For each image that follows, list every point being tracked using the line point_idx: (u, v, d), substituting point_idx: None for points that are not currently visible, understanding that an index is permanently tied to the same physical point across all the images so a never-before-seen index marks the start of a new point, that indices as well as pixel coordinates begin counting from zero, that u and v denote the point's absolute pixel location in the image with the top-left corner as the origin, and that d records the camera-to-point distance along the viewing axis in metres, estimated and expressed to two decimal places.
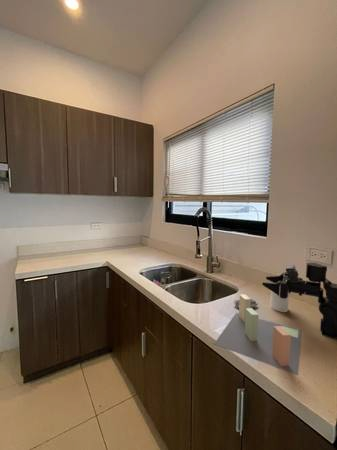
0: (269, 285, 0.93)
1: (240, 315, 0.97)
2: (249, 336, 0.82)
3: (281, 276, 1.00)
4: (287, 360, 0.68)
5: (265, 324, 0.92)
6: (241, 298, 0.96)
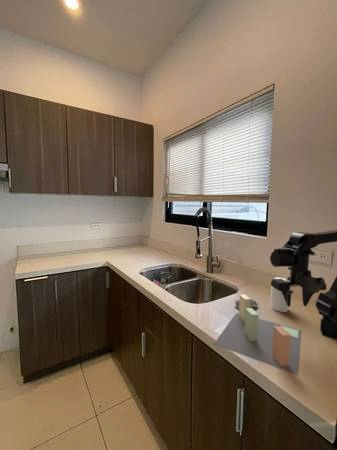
0: None
1: (240, 315, 0.97)
2: (249, 336, 0.82)
3: None
4: (287, 360, 0.68)
5: (265, 324, 0.92)
6: (241, 298, 0.96)
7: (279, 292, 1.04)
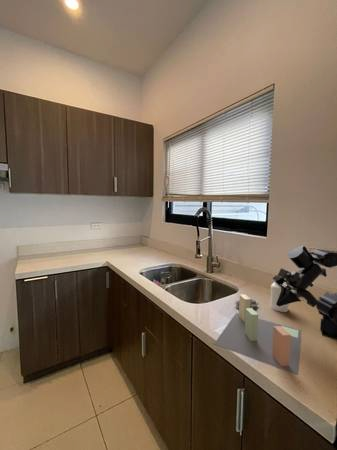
0: (284, 301, 0.82)
1: (240, 315, 0.97)
2: (249, 336, 0.82)
3: (285, 290, 0.84)
4: (287, 360, 0.68)
5: (265, 324, 0.92)
6: (241, 298, 0.96)
7: (279, 292, 1.04)
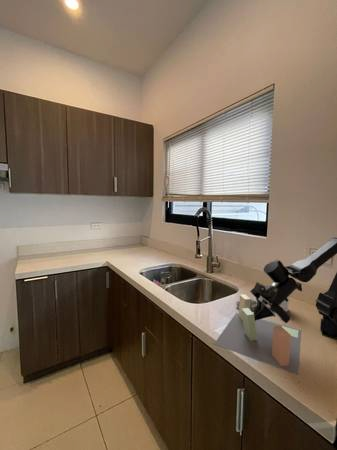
0: (259, 315, 0.82)
1: (240, 315, 0.97)
2: (249, 336, 0.82)
3: (260, 304, 0.83)
4: (287, 360, 0.68)
5: (265, 324, 0.92)
6: (241, 298, 0.96)
7: None
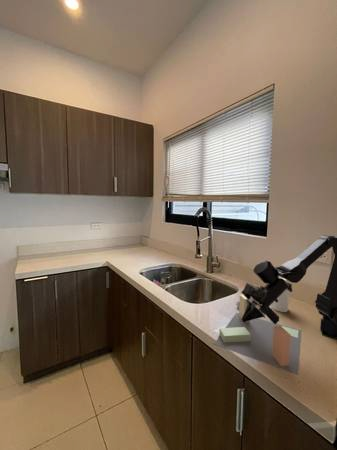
0: (249, 316, 0.81)
1: (240, 315, 0.97)
2: None
3: (250, 305, 0.83)
4: (287, 360, 0.68)
5: (265, 324, 0.92)
6: (241, 298, 0.96)
7: None
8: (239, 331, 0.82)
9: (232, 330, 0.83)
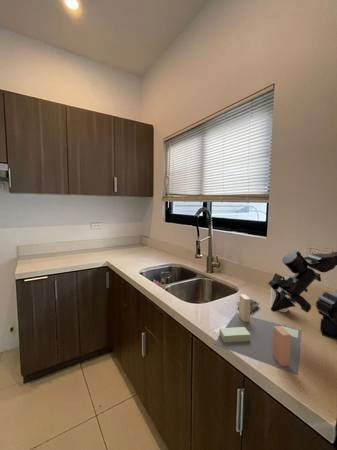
0: (279, 306, 0.82)
1: (240, 315, 0.97)
2: None
3: (279, 295, 0.84)
4: (287, 360, 0.68)
5: (265, 324, 0.92)
6: (241, 298, 0.96)
7: None
8: (239, 331, 0.82)
9: (232, 330, 0.83)
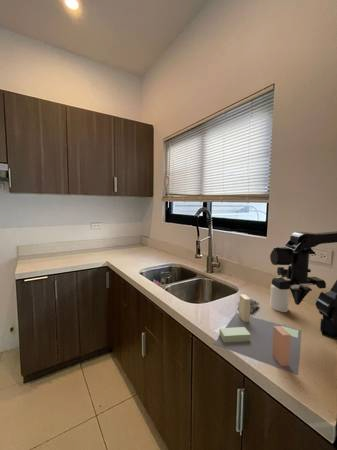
0: (294, 297, 0.85)
1: (240, 315, 0.97)
2: None
3: None
4: (287, 360, 0.68)
5: (265, 324, 0.92)
6: (241, 298, 0.96)
7: (279, 292, 1.04)
8: (239, 331, 0.82)
9: (232, 330, 0.83)
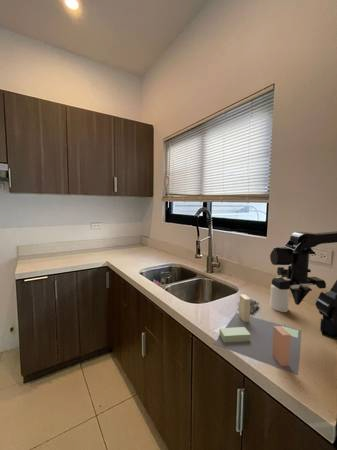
0: (294, 297, 0.85)
1: (240, 315, 0.97)
2: None
3: None
4: (287, 360, 0.68)
5: (265, 324, 0.92)
6: (241, 298, 0.96)
7: (279, 292, 1.04)
8: (239, 331, 0.82)
9: (232, 330, 0.83)
